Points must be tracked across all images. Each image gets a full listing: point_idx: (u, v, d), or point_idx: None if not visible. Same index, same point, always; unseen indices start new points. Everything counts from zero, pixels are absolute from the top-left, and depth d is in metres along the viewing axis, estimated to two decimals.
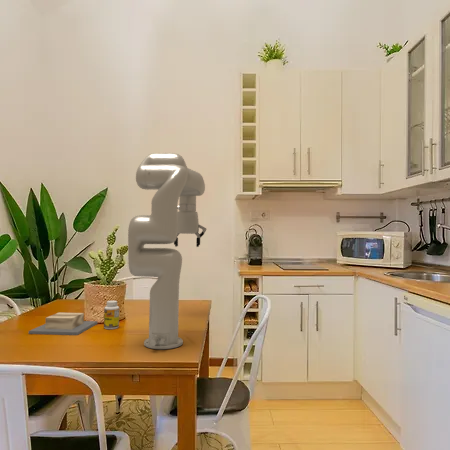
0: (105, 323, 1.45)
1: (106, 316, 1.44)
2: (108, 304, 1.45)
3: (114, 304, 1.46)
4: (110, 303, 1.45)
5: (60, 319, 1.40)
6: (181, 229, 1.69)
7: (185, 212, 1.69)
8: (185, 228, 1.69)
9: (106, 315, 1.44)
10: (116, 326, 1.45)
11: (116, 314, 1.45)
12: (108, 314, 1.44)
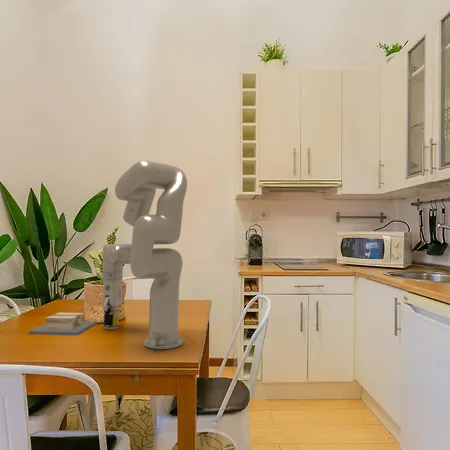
0: None
1: None
2: None
3: None
4: None
5: (60, 319, 1.40)
6: (117, 301, 1.45)
7: (118, 281, 1.47)
8: (118, 299, 1.46)
9: None
10: (116, 326, 1.45)
11: (116, 314, 1.45)
12: None
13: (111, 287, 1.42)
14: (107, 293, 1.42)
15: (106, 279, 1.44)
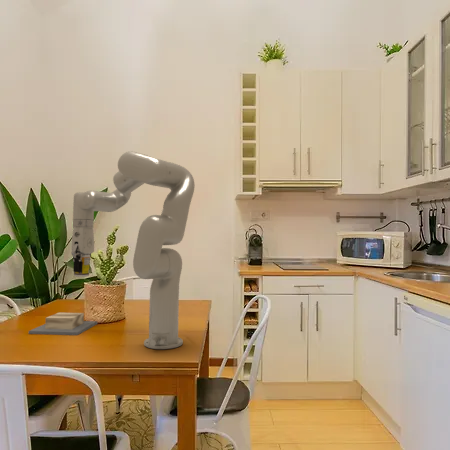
0: None
1: None
2: (78, 252, 1.45)
3: None
4: None
5: (60, 319, 1.40)
6: (86, 249, 1.44)
7: (88, 229, 1.46)
8: (88, 247, 1.46)
9: None
10: (86, 274, 1.45)
11: (86, 262, 1.45)
12: None
13: (80, 234, 1.42)
14: (76, 240, 1.42)
15: (76, 226, 1.43)
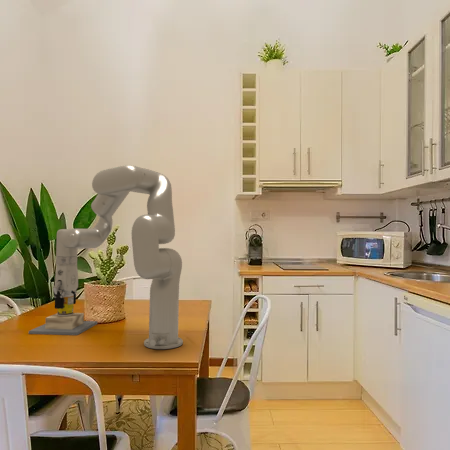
0: (58, 310, 1.43)
1: None
2: None
3: None
4: None
5: (60, 319, 1.40)
6: (70, 286, 1.43)
7: (72, 266, 1.45)
8: (72, 285, 1.45)
9: None
10: (70, 313, 1.43)
11: (70, 301, 1.43)
12: None
13: (64, 272, 1.41)
14: (59, 278, 1.41)
15: (59, 264, 1.42)
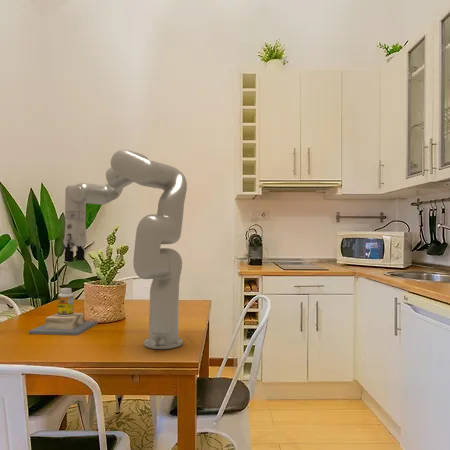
0: (58, 310, 1.43)
1: (59, 303, 1.42)
2: (62, 291, 1.43)
3: (68, 291, 1.44)
4: (63, 290, 1.43)
5: (60, 319, 1.40)
6: (79, 241, 1.46)
7: (81, 221, 1.47)
8: (81, 240, 1.47)
9: (59, 302, 1.43)
10: (70, 313, 1.43)
11: (70, 301, 1.43)
12: (61, 301, 1.42)
13: (73, 226, 1.43)
14: (69, 232, 1.43)
15: (68, 218, 1.45)
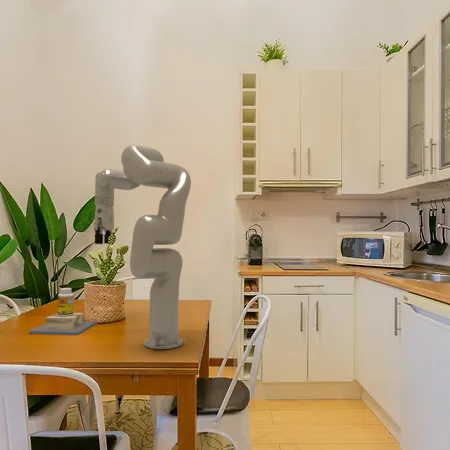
0: (58, 310, 1.43)
1: (59, 303, 1.42)
2: (62, 291, 1.43)
3: (68, 291, 1.44)
4: (63, 290, 1.43)
5: (60, 319, 1.40)
6: (108, 225, 1.54)
7: (110, 206, 1.56)
8: (110, 224, 1.56)
9: (59, 302, 1.42)
10: (70, 313, 1.43)
11: (70, 301, 1.43)
12: (61, 301, 1.42)
13: (103, 210, 1.52)
14: (99, 216, 1.52)
15: (98, 203, 1.53)
